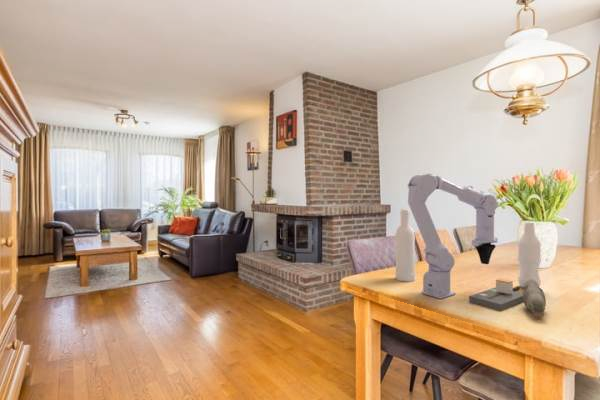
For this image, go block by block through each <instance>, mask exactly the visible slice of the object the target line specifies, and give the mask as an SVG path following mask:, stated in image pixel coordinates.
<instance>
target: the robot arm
mask: <svg viewBox="0 0 600 400" xmlns="http://www.w3.org/2000/svg"><path fill="white" fill-rule="evenodd" d="M407 188H408V197H407V203H408V206H409V208H410V209H409V210H410V212H411V213H412V216H413V218H414V220H415V223H416V226H417V228H418V230H419V232H420V235H421V237H422V239H423V242H424V244H425V247H424V249H423V251H424V253H425V261H426V263H427V264H428V271H425V273H424V274H423V277H422V283H423V284H422V290H423V291H421V294H423V295H426V296H430V297H433V298H437V299H439V300H440V299H441V300H442V299H444V298H448V297H451V296H454V295H456V292H454V291H451V271H452V269H453V268H454V266H455V263H456V262H455V261H456V260H455V257H454V256H453V255H452V254H451V253H450V251H449V249H448V248H447V247H446V246H445V245H444V244H443V243H442V241H441V238H440V237H439V234H438V231H437V229H436V227H435V224H434V221H433V219H432V217H431V215H430V211H429V209H428V208H427V207H428V206H427V204H426V202H427V200H428V198H429V196H430V195H432V194H433V193H434V191H436V190H441V191H443V192H445V193H449V194H451V195H454V196H456V197H457V199H458V201H460V202H463V203H465V204H467V205H469V206H472V207H473V208H474V209H475V210H476V211H475V213H476V214H475V221H476V222H475V224H476V225H475V227H476V229H475V233H476V234H475V235H476V236H475V237H476V238H474V239H472V240H471V246H472V247H473V246H474V248H475V249H476V251H477V253H478V257H479V260H480V264H483V265H489V264H490V260H491V257H492V254H493V252H494V250H495V248H496V244H497V243H498V237H495V214H496V209H497V208H498V206H499V202H498V201H497V199H496V197H495V196H494V195H492V194H486V193H485V192H484V191H481V190H476V189H474V187H473V186H472V185H468V186H467V185H466V186H463V187H461V186H459V185H457V184H455V183H452V181H451V182H450V181H448V180H447V179H445V178H442V177H441V176H438V175H434V174H433V173H425V174H421V175H419V174H417V175H414V176H412V177H411V179H410V180H409V182H408V184H407Z"/></svg>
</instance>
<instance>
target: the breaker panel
mask: <svg viewBox="0 0 600 400" xmlns="http://www.w3.org/2000/svg"><path fill="white" fill-rule="evenodd" d="M468 298H469V299H468V301H469V303H472V304H475V305H479V306H482V307H486V308H490V309H494V310H497V311H500V312H501V311H504V310H507V309H509V308H511V307H514V306H516V305H518V304H520V303H524V302H523V292H519V291H516V290H515V291H513V293H510V294H506V293H502V292H497V291H496V286H495V287H492V288H489V289H486V290H483V291H479V292H477V293H475V294H474V293H473V294H472V295H469V296H468Z"/></svg>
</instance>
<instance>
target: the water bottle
mask: <svg viewBox="0 0 600 400" xmlns="http://www.w3.org/2000/svg"><path fill="white" fill-rule="evenodd" d="M535 230H536V228H535V222H524V227H523V233H522V235H521V236H520V238H519V240H518V242H517V245H518V246H517V247H518V251H517V252H518V253H517V254H518V257H517V260H518V262H519V263H518V264H519V266H520V271H519V275H518V276H517V282H518V284H519V287H520V288H523V289H525V287H526V285H527V280H530V279H533V280H534V281H536V282H537V284H538V287H539V288H540V287H541V278H540V275H539V267H540V264H541V262H542V259H541V246H542V244H541V242H540V239H539V237H538V236H537V234H536V231H535ZM526 288H527V287H526Z"/></svg>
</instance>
